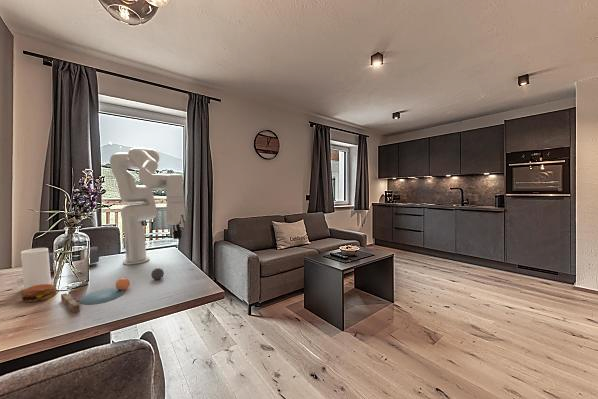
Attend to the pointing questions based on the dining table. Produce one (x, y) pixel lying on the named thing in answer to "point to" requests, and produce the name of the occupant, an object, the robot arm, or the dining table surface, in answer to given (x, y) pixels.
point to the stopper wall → (70, 303)
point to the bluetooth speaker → (93, 257)
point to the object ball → (122, 283)
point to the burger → (38, 292)
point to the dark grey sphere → (157, 273)
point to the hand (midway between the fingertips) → (177, 238)
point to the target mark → (101, 296)
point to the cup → (35, 267)
